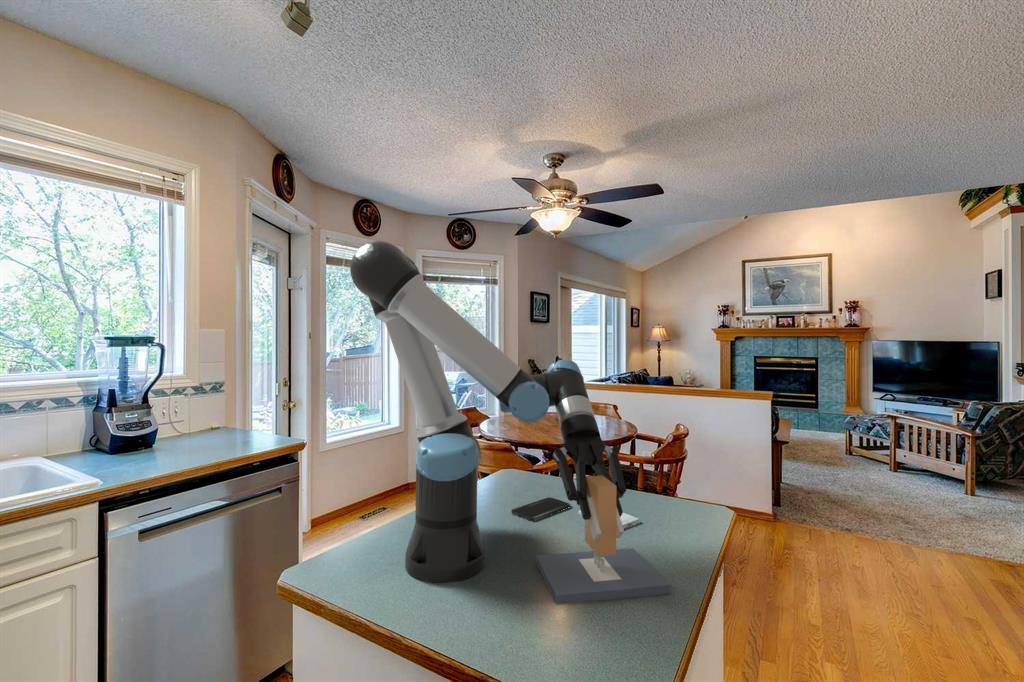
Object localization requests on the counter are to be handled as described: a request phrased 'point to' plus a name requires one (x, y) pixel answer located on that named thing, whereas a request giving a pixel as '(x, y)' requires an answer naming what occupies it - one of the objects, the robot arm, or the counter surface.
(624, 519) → the hard drive
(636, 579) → the header board
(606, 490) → the tan rectangular block
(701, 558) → the counter surface
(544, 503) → the phone
